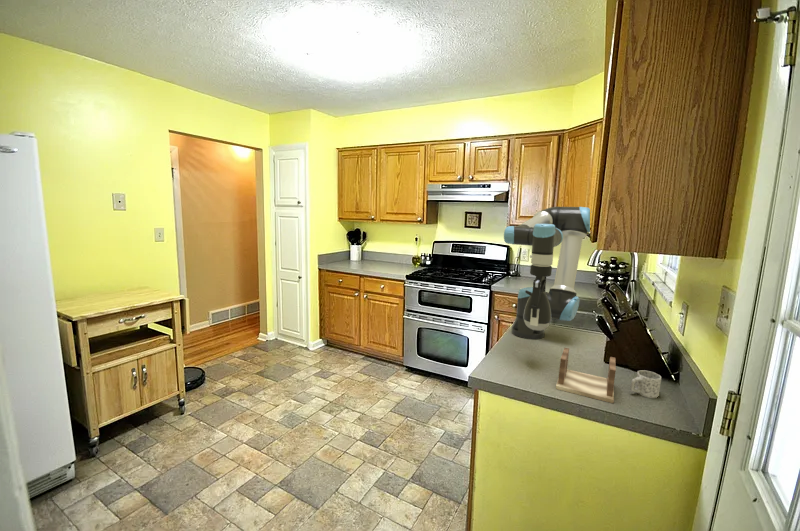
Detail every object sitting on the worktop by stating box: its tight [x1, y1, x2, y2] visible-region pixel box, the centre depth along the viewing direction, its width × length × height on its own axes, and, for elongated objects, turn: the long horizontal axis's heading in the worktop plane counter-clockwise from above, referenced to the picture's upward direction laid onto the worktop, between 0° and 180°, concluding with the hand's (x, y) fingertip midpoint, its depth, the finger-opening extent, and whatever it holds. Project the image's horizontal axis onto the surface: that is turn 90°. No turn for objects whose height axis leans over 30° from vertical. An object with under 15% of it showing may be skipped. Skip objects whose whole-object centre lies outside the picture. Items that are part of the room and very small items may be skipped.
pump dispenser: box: [523, 290, 552, 331], centre depth 137 cm, size 10×10×15 cm
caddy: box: [555, 347, 617, 404], centre depth 123 cm, size 16×17×10 cm
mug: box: [629, 369, 662, 399], centre depth 119 cm, size 10×7×7 cm, turn 102°
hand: (536, 321), depth 138 cm, fingers closed on pump dispenser, 10 cm apart
